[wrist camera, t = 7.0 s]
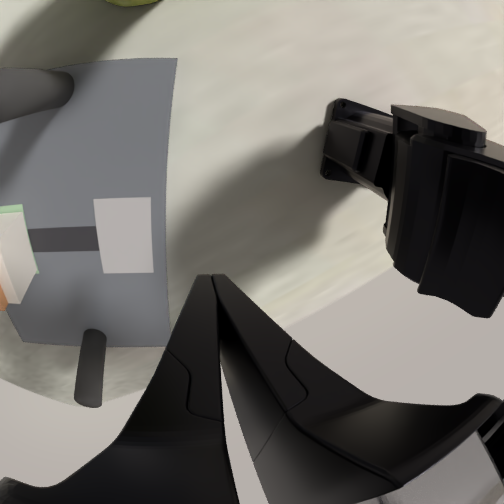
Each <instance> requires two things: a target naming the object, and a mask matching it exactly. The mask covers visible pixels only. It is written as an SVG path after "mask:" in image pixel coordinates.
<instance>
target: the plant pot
mask: <svg viewBox="0 0 504 504" xmlns="http://www.w3.org/2000/svg"><path fill="white" fill-rule="evenodd" d="M106 1H108V2H109V3H112V4H114V5H118V6H124V7H128V6H137V5H143V4H150V3H153V2H156V1H158V0H106Z"/></svg>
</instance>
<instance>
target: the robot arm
mask: <svg viewBox="0 0 504 504" xmlns="http://www.w3.org/2000/svg"><path fill="white" fill-rule="evenodd" d="M341 102H343V107H341V106H340V104H341ZM391 113H392V114H393V116H392V115H389V114H387V113H384V112H381V111H379V110H376V109H373V108H371V107H368V106H365V105H362V104H359V103H356V102H353V101H350V100H347V99H343V98H338V99H337V100H336V101H335V104H334V109H333V114H332V119H331V122H330V123H329V128H328V133H327V137H326V142H325V147H324V151H323V153H324V157H323V161H322V166H321V170H320V174H321V176H322V177H323V178H325V179H328V180H336V181H343V182H350V183H357V184H362V185H364V186H365V187H367V188H368V189H370V190H371V191H373V192H374V193H376V194H378V195H379V196H381V197H382V198H384V199H385V200H387V201H388V206H387V215H386V222H385V224H384V227H383V233H384V234H385V236H386V239H385V241H386V249H387V251H388V253H389V254H390V256H391V258H392V259H393V261H394V263H393V266H394V267H395V268H396V269H397V270H398V271H399V272H400V273H401V274H403V275H404V276H405V277H407V278H408V279H410V280H412V281H413V282H416V283H418V284H419V287H418V289H417V292H418V293H420V294H424V295H431V296H436V297H439V298H442V299H445V300H447V301H449V302H451V303H453V304H455V305H457V306H458V307H460V308H461V309H463V310H464V311H466V312H467V313H469V314H470V315H472V316H474V317H481V318H490V317H491V316H492V314H493V313H494V311H495V309H496V308H497V306H498V304H499V302H500V300H501V299H502V297H504V146H502V145H500V144H497V143H495V142H492V141H490V140H487V139H486V133H487V131H486V130H485V129H484V128H482V127H481V126H480V125H478V124H477V123H475V122H474V121H472V120H471V119H469V118H468V117H466V116H465V115H461V114H458V113H454V112H451V111H447V110H443V109H439V108H431V107H420V106H407V105H391ZM327 170H329V172H328V174H327V175H325V173H326V171H327ZM220 362H221V366H222V369H223V372H224V376H225V379H226V383H227V386H228V389H229V393H230V396H231V399H232V402H233V405H234V408H235V411H236V415H237V418H238V420H239V424H240V427H241V430H242V433H243V436H244V439H245V441H246V444H247V447H248V450H249V453H250V456H251V458H252V461H253V462H254V467H255V469H256V472H257V475H258V477H259V480H260V483H261V485H262V488H263V490H264V493H265V495H266V498H267V500H268V503H269V504H504V400H503V401H502V400H501V399H500V398H497V397H495V396H494V395H489V394H480V393H477V394H475V395H474V396H473V397H472V398H470V399H469V400H468V401H467V402H464V403H461V404H458V405H450V406H449V405H447V406H446V405H423V404H410V403H399V402H390V401H384V400H380V399H377V398H374V397H372V396H370V395H368V394H366V393H364V392H363V391H361V390H360V389H358V388H357V387H355V386H354V385H352V384H351V383H349V382H348V381H346V380H345V379H343V378H342V377H341V376H339V375H338V374H336V373H335V372H333V371H332V370H331V369H329V368H328V367H327V366H325V365H324V364H323V363H321V362H320V361H318V360H317V359H316V358H315V357H313V356H312V355H311V354H310V353H309V352H308V351H306V350H305V349H304V348H303V347H301V345H300V344H298V343H297V342H296V341H295V340H292V337H291V336H289V335H288V334H287V333H286V332H285V331H284V330H283V329H282V328H281V327H280V326H279V325H278V324H276V323H275V322H274V321H273V320H272V319H271V318H270V317H269V316H268V315H267V314H266V313H265V312H264V311H263V310H262V309H260V308H259V307H258V306H257V305H256V304H255V303H254V302H253V301H252V300H251V299H250V298H249V297H248V296H247V295H246V294H245V293H244V292H243V291H242V290H240V289H239V288H238V287H237V286H236V285H235V284H234V283H233V282H232V281H231V280H230V279H229V278H228V277H227V276H226V275H225V274H212V275H209V274H199V275H197V277H196V279H195V281H194V283H193V285H192V288H191V290H190V292H189V294H188V297H187V299H186V301H185V304H184V306H183V308H182V310H181V313H180V315H179V317H178V320H177V322H176V324H175V327H174V329H173V331H172V334H171V336H170V339H169V341H168V343H167V346H166V348H165V351H164V353H163V355H162V358H161V360H160V362H159V364H158V367H157V369H156V371H155V373H154V375H153V377H152V379H151V381H150V383H149V385H148V386H147V388H146V390H145V392H144V394H143V395H142V397H141V399H140V401H139V402H138V404H137V405H136V407H135V409H134V411H133V412H132V414H131V416H130V418H129V419H128V421H127V423H126V424H125V426H124V428H123V429H122V431H121V432H120V434H119V435H118V437H117V438H116V439H115V440H114V441H113V442H112V443H111V444H110V445H109V446H108V447H107V448H106V449H105V450H103V451H102V452H101V453H99V454H98V455H97V456H96V457H94V458H93V459H92V460H90V461H89V462H88V463H86V464H85V465H84V466H82V467H81V468H80V469H79V470H77V471H76V472H75V473H73V474H72V475H70V476H69V477H68V478H66V479H65V480H63V481H62V482H60V483H58V484H56V485H53V486H50V487H35V486H31V485H28V484H25V483H23V482H20V481H17V480H15V479H11V478H8V477H4V478H3V479H2V480H1V481H0V504H240V503H239V499H238V495H237V491H236V487H235V482H234V478H233V473H232V469H231V464H230V459H229V454H228V450H227V444H226V436H225V427H224V414H223V399H222V383H221V368H220Z"/></svg>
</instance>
